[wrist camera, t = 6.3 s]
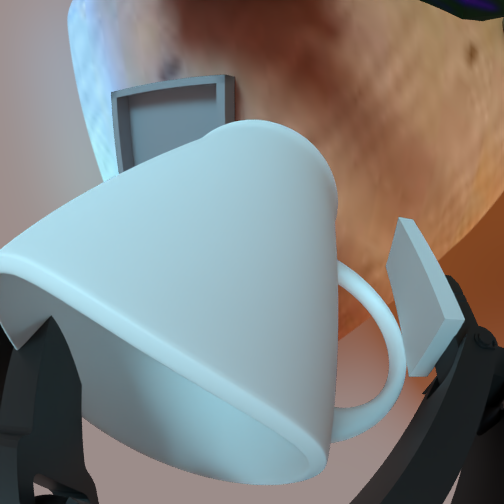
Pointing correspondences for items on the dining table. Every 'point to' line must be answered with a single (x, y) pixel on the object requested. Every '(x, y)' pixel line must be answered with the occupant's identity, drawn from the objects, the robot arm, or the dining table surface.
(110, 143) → the dining table surface
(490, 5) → the decorative plant
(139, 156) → the slate tray
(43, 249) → the mug
